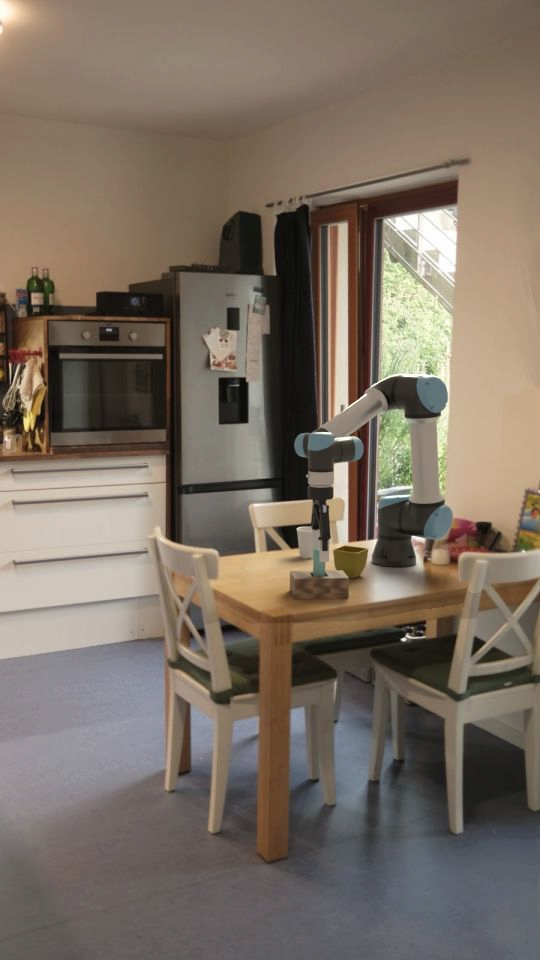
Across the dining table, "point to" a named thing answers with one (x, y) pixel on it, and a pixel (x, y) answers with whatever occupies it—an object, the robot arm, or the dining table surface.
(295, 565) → the dining table surface
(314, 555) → the pin
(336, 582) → the block
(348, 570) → the flower pot
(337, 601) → the dining table surface
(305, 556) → the dixie cup
